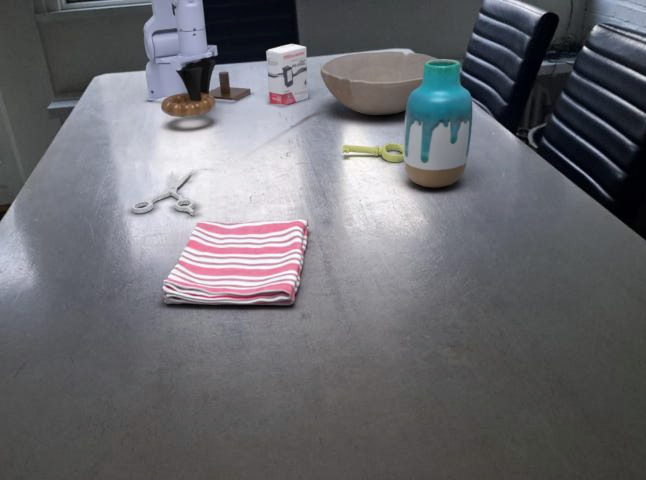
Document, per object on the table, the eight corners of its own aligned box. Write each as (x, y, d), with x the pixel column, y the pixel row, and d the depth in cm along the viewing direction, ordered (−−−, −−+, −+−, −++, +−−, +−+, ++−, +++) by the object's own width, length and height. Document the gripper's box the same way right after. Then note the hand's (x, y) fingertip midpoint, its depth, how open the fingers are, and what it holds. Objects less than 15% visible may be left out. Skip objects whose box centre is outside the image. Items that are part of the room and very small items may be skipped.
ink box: (283, 106, 159) (280, 52, 152) (268, 103, 162) (265, 49, 156) (309, 98, 164) (307, 45, 157) (294, 95, 167) (292, 43, 160)
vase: (426, 168, 121) (434, 52, 110) (478, 182, 115) (492, 60, 104) (388, 186, 116) (392, 65, 104) (441, 201, 109) (451, 74, 98)
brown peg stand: (200, 100, 168) (197, 75, 165) (220, 91, 174) (217, 67, 171) (232, 103, 164) (229, 78, 161) (250, 93, 171) (248, 69, 167)
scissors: (128, 213, 109) (154, 168, 126) (128, 217, 110) (154, 172, 126) (193, 211, 109) (211, 166, 125) (194, 215, 109) (212, 171, 125)
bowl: (463, 105, 153) (467, 57, 147) (398, 137, 137) (400, 84, 131) (366, 90, 167) (366, 46, 161) (297, 118, 151) (295, 70, 145)
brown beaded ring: (151, 115, 143) (149, 102, 141) (182, 101, 151) (180, 89, 149) (196, 120, 138) (195, 107, 137) (225, 105, 146) (224, 93, 145)
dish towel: (160, 309, 86) (155, 284, 84) (200, 230, 105) (197, 208, 103) (295, 311, 84) (294, 286, 82) (311, 230, 103) (310, 208, 101)
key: (339, 155, 129) (339, 144, 128) (401, 148, 131) (401, 137, 130) (349, 168, 123) (349, 156, 122) (414, 160, 125) (415, 149, 124)
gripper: (187, 36, 132) (196, 109, 140) (226, 23, 142) (233, 91, 150) (157, 35, 135) (168, 106, 143) (198, 22, 145) (205, 89, 153)
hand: (199, 98), depth 147 cm, fingers closed on brown beaded ring, 3 cm apart
